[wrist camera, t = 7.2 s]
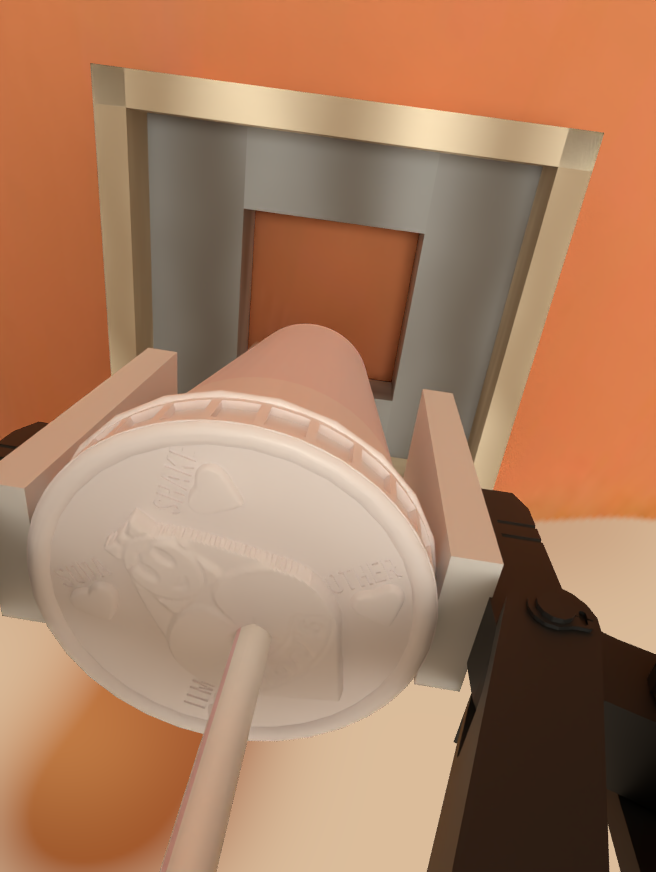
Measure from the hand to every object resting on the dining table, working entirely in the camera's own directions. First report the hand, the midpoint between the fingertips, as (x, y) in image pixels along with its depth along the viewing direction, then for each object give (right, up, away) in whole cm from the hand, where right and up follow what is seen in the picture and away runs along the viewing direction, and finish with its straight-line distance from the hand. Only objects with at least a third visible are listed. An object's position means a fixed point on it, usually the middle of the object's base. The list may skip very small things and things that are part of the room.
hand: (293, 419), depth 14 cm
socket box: (+1, +6, +12) cm, 14 cm away
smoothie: (0, +1, +3) cm, 3 cm away
